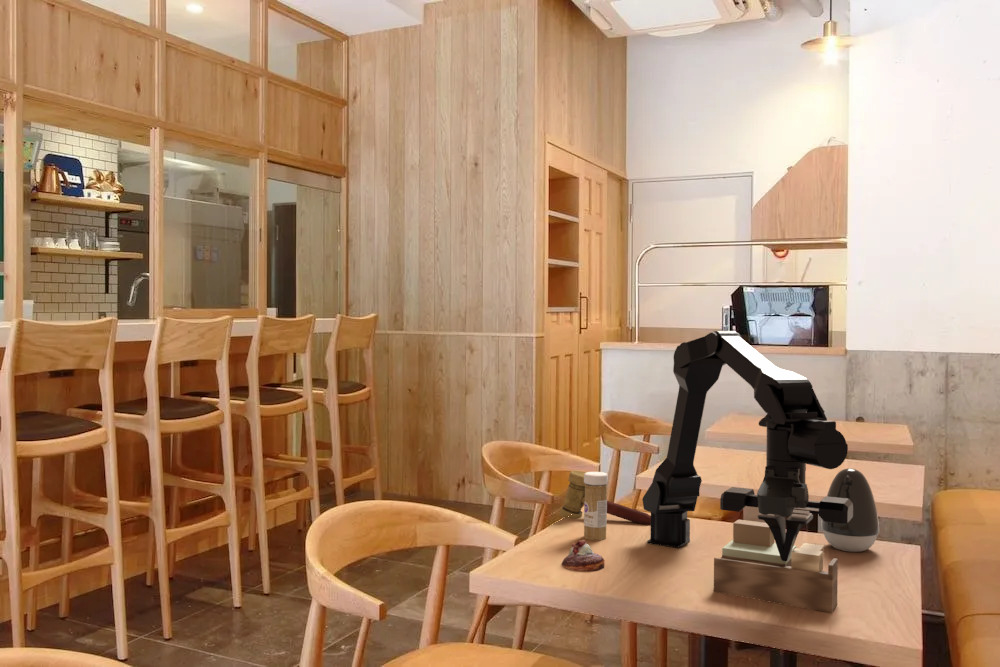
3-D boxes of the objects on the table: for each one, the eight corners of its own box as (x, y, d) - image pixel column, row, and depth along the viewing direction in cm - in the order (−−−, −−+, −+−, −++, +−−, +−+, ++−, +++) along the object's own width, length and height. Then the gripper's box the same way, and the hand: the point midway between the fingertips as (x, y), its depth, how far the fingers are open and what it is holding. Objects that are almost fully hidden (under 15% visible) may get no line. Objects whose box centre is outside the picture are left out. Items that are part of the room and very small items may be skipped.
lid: (722, 555, 143) (722, 528, 142) (735, 544, 149) (735, 518, 149) (785, 564, 138) (785, 536, 137) (796, 552, 144) (796, 526, 144)
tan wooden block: (791, 570, 133) (791, 552, 133) (800, 560, 139) (800, 542, 139) (818, 574, 131) (819, 555, 131) (827, 563, 137) (827, 545, 137)
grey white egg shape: (817, 551, 164) (818, 470, 164) (824, 539, 174) (825, 462, 173) (876, 558, 160) (877, 475, 159) (881, 545, 169) (882, 466, 169)
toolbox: (713, 593, 139) (714, 549, 139) (735, 573, 149) (735, 532, 149) (832, 612, 130) (832, 565, 130) (845, 590, 141) (846, 547, 140)
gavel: (656, 544, 184) (668, 499, 183) (652, 550, 180) (665, 503, 179) (562, 512, 191) (573, 469, 190) (556, 517, 186) (568, 472, 185)
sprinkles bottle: (578, 541, 171) (579, 472, 171) (596, 538, 173) (597, 470, 173) (593, 546, 167) (594, 475, 167) (612, 543, 169) (612, 473, 169)
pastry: (573, 562, 157) (573, 534, 157) (612, 568, 153) (612, 539, 153) (553, 573, 150) (553, 544, 150) (593, 580, 146) (594, 550, 146)
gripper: (710, 460, 132) (709, 564, 133) (841, 471, 123) (840, 583, 123) (730, 451, 142) (729, 548, 142) (854, 461, 133) (853, 564, 133)
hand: (784, 560), depth 135 cm, fingers closed
